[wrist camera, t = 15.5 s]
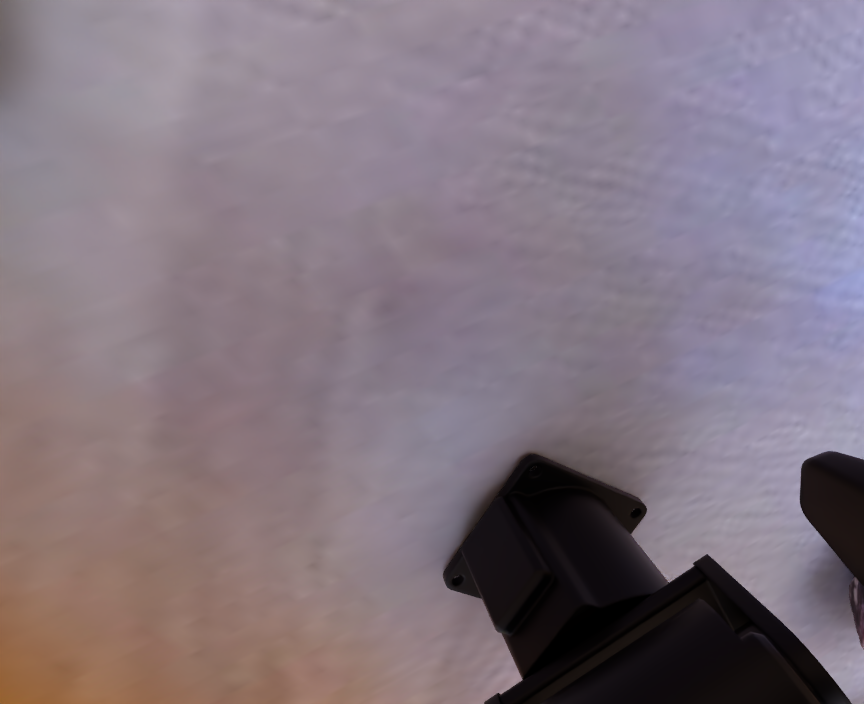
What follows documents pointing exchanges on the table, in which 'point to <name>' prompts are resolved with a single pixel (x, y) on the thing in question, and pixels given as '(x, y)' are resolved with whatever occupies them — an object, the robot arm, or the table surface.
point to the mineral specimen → (857, 606)
